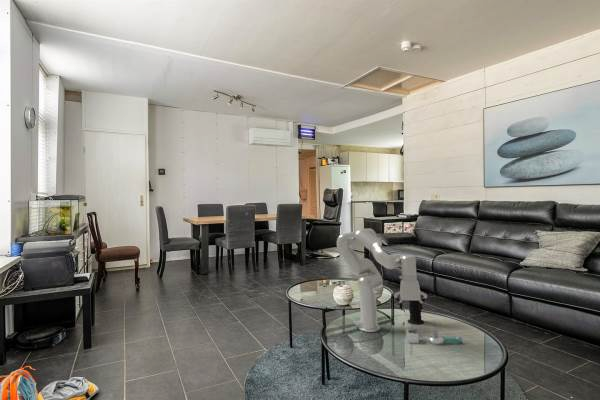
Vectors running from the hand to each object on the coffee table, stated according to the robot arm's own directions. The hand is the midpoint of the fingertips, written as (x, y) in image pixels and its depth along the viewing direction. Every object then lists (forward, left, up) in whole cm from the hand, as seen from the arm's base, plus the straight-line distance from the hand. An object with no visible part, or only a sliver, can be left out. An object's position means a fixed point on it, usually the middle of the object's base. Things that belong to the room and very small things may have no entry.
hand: (411, 310), depth 176 cm
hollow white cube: (0, 0, -16) cm, 16 cm away
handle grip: (+5, +30, -16) cm, 34 cm away
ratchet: (+16, 0, -16) cm, 23 cm away
